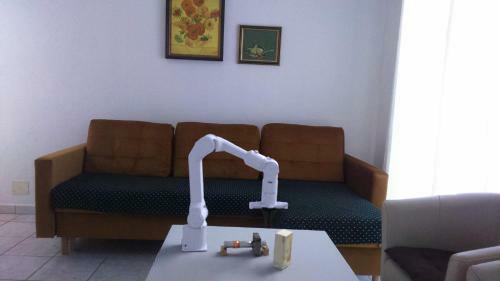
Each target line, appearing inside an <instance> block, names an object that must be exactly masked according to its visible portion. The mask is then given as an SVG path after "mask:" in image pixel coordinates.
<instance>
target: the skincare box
mask: <svg viewBox="0 0 500 281" xmlns="http://www.w3.org/2000/svg"><path fill="white" fill-rule="evenodd" d="M293 235H294V231H291V230H288V229H285V228H284V229H281V230H278V231H277V232H276V233H275V234H274V247H273V256H272V257H273V259H272V267H274V268H277V269H280V270H284V269H286V268H287V267H288V266H290V265H291V258H292V247H293V238H294V237H293Z"/></svg>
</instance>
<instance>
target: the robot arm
mask: <svg viewBox="0 0 500 281" xmlns="http://www.w3.org/2000/svg"><path fill="white" fill-rule="evenodd" d="M214 150H215V153H216V152H217V153H218V152H226V153H229V154H231V155H233V156H236V157H238V158H240V159H242V160H243V162H244V164H245V165H247V166H248V167H251V168H253V169H255V170H256V171H259V172H262V173H263V179H262V187H261V201H250V202H249V204H248V205H249V209H250V210H252V209H260V210H261V213H262V215H263V220H264V226H265V228H270V227H271V224H272V221H273V218H274V216H275V215H276V213H277V209H285V210H286V209H287V210H288V209H289V208H288V207H289V203H288V202H285V201H284V202H282V201H277V199H278V198H277V196H278V184H279V181H278V177H279V176H278V175H279V173H280V168H279V164H278V162H277V160H275V159H274V158H270V157H269V156H267V157H266V156H265V155H262V154H260V153H259V151H258V150H256V149H255V150H253V149H251V150H249V151H247V150H245V149H244V148H241V147H240V146H237V145H235V144H234V143H232V142H230V141H229V140H226V139H224V138H222V137H220V136H216V135H215V134H212V133H209V134H206V135H204V136H202V137H201V138H199V139H198V140H197V141H195V143H194V146H193V147H192V149H191V151H190V152H189V154H188V156H187V157H188V172H189V174H188V175H189V194H190V195H189V196H190V204H189V208H188V209H189V212H188V215H187V220H186V221H187V224H182V238H181V242H180V243H181V252H207V251H208V244H207V232H208V230H207V228H208V223H207V221H206V219H207V217H208V216H209V210H208V208H207V206H206V201H205V199H204V198H205V197H204V196H205V195H204V177H203V176H204V174H203V159H204V158H205V157H206V156H207V155H209V154H210V153H212V152H214Z"/></svg>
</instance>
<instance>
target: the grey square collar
mask: <svg viewBox="0 0 500 281" xmlns="http://www.w3.org/2000/svg"><path fill="white" fill-rule="evenodd" d="M252 241H255V248H251V250H252V252H253V255H254V256H255V257H261V254H262V253H261V252H262V251H261V241H262V238H261V236H260V234H259V232H252Z"/></svg>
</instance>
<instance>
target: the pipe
mask: <svg viewBox="0 0 500 281" xmlns="http://www.w3.org/2000/svg"><path fill="white" fill-rule="evenodd" d="M248 248H249V249H252V248H255V241H253V240H224V241H223V245H220V254H221V257H227V256H228V249H248ZM261 252H262V253H261V254H262V255H263V256H269V255H270V254H269V253H270V249H269V246H268V245H267V241H266V240H261Z"/></svg>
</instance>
